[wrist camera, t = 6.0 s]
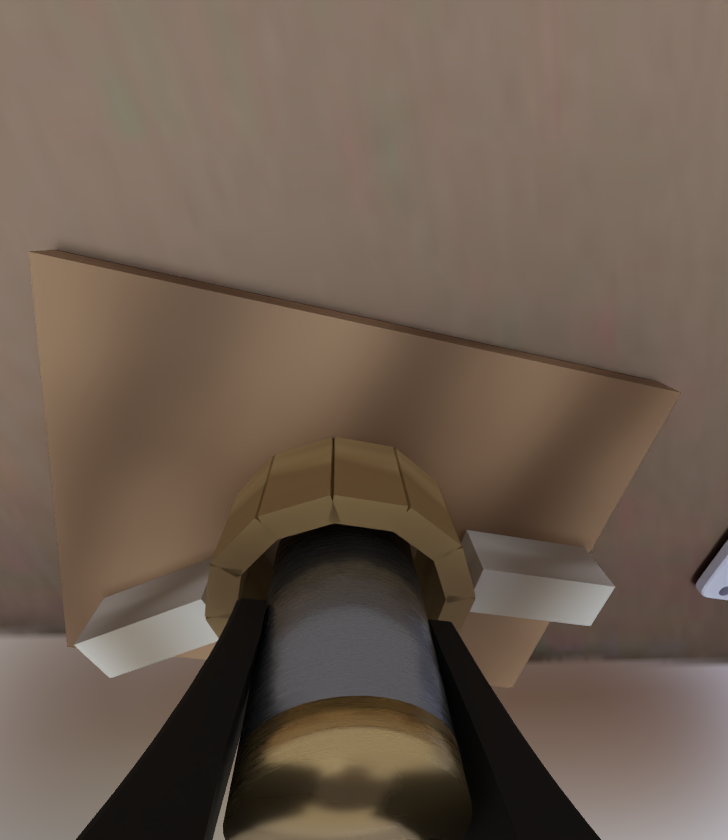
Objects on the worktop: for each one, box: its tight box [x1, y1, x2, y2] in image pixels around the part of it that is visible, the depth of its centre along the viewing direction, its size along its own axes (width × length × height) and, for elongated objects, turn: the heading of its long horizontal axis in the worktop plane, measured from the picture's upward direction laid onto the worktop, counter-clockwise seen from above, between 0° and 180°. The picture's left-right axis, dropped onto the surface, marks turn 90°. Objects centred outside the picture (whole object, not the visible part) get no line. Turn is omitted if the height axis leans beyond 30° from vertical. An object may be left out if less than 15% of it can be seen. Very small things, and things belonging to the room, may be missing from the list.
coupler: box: [223, 523, 472, 840], centre depth 9 cm, size 4×4×6 cm
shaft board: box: [29, 250, 681, 688], centre depth 13 cm, size 18×14×4 cm
